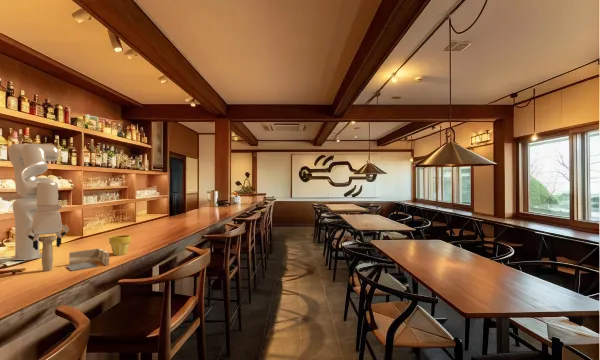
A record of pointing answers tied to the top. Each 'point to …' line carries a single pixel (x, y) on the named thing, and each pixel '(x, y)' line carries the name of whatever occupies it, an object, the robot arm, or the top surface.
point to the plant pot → (120, 244)
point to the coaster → (81, 266)
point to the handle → (47, 252)
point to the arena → (89, 256)
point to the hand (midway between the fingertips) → (47, 247)
